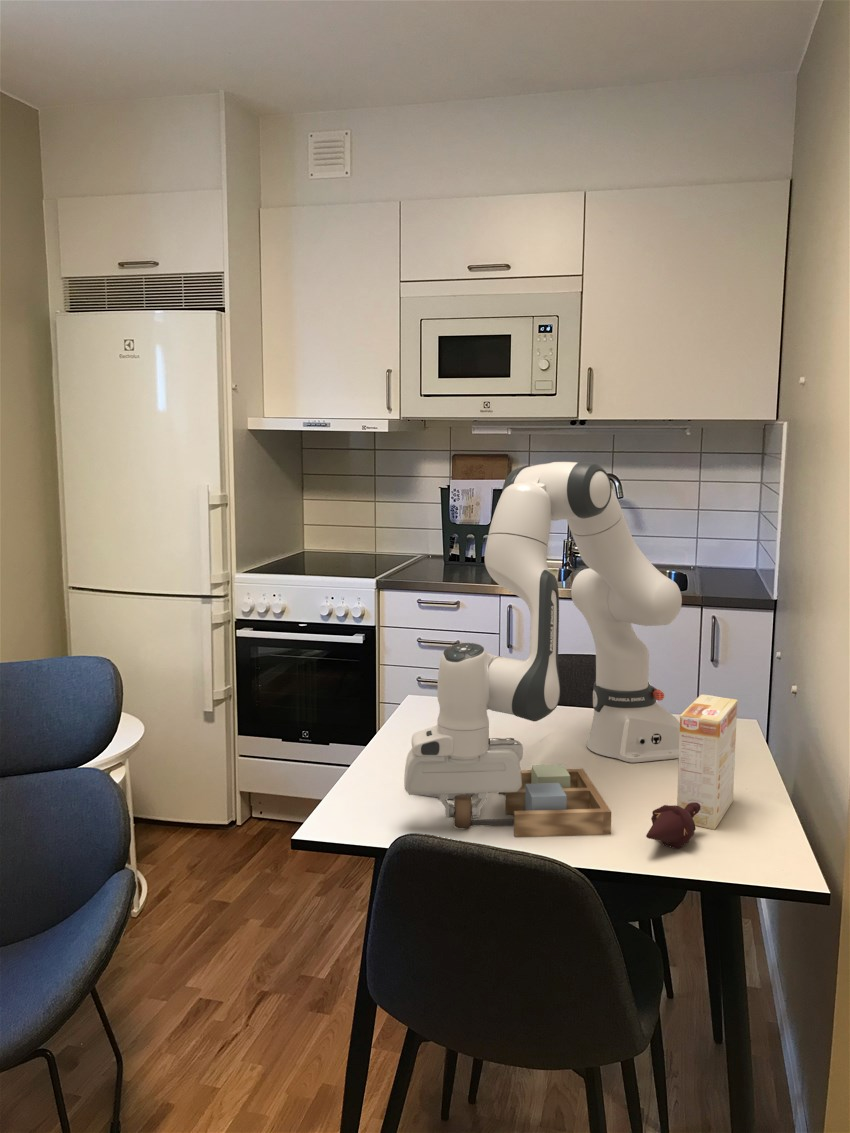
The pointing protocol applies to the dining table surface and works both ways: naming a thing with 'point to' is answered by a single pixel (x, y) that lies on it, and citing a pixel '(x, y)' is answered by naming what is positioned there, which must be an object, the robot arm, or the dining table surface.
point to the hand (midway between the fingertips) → (462, 815)
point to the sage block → (550, 775)
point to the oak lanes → (579, 817)
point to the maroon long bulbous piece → (673, 824)
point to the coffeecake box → (707, 758)
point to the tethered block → (535, 799)
